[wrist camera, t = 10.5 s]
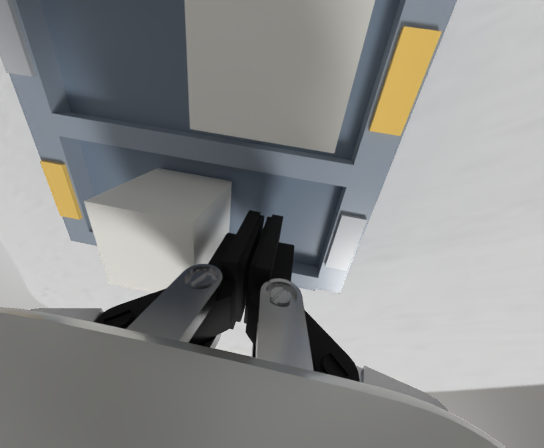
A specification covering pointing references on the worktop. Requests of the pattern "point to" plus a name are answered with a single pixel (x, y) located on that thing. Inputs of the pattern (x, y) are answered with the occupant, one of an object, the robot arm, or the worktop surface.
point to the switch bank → (204, 145)
